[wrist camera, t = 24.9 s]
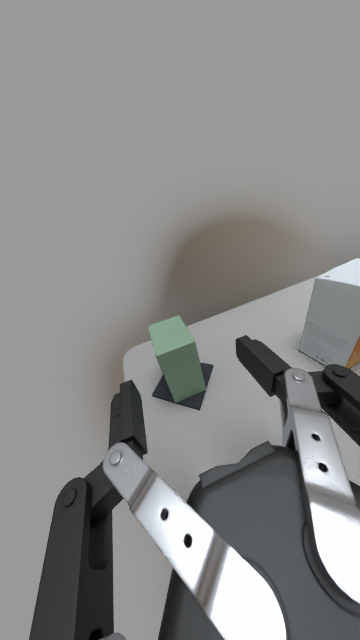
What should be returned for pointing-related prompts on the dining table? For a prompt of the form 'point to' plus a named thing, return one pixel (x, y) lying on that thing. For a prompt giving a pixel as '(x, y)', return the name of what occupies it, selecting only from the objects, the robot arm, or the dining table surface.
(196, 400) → the rubber mat
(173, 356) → the green rectangular block
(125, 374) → the dining table surface
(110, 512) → the robot arm
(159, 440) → the dining table surface
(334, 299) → the small box
